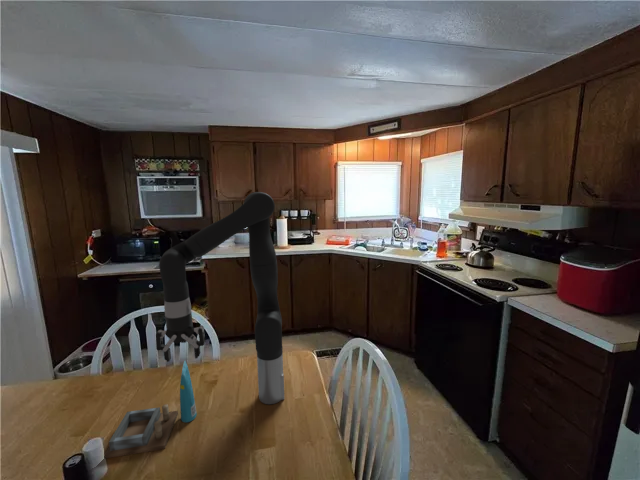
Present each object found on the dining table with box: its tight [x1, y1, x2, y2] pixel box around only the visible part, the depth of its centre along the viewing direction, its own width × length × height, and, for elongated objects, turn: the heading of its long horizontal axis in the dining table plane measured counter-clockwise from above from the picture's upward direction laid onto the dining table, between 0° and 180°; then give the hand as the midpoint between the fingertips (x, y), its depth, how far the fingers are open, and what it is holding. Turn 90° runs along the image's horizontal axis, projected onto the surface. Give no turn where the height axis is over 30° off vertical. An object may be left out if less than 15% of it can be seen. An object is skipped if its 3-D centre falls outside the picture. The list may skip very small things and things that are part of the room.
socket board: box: [104, 403, 179, 459], centre depth 92 cm, size 16×14×6 cm
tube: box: [179, 359, 198, 423], centre depth 97 cm, size 7×5×19 cm, turn 23°
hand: (183, 358), depth 95 cm, fingers open, 8 cm apart
